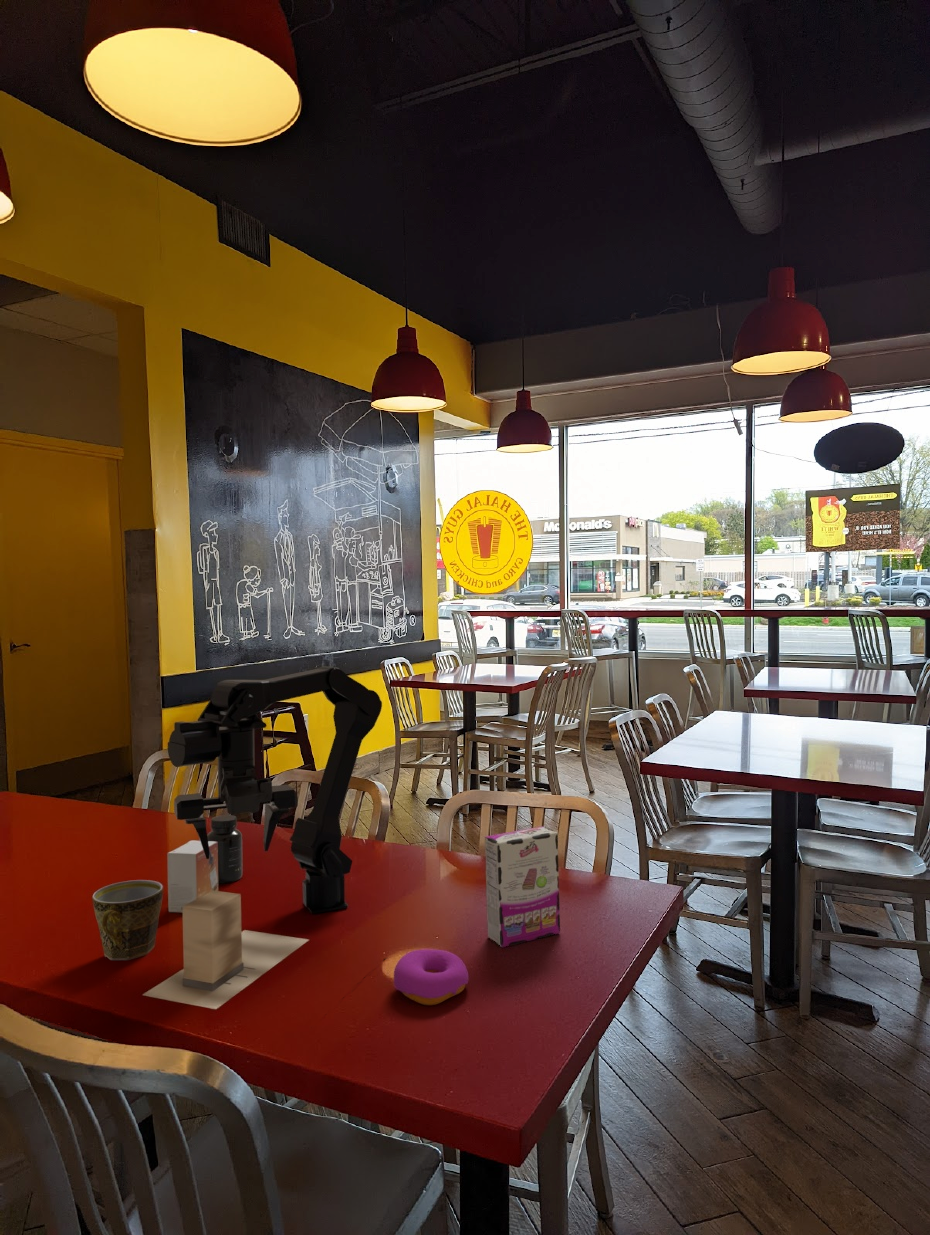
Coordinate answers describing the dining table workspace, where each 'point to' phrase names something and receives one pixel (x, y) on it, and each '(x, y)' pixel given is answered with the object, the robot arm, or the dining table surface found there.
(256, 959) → the white lined paper sheet
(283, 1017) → the dining table surface
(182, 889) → the small box
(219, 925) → the block
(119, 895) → the ceramic cup
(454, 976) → the donut
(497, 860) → the candy bar box
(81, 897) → the dining table surface
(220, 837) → the supplement bottle
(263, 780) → the robot arm
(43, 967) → the dining table surface
